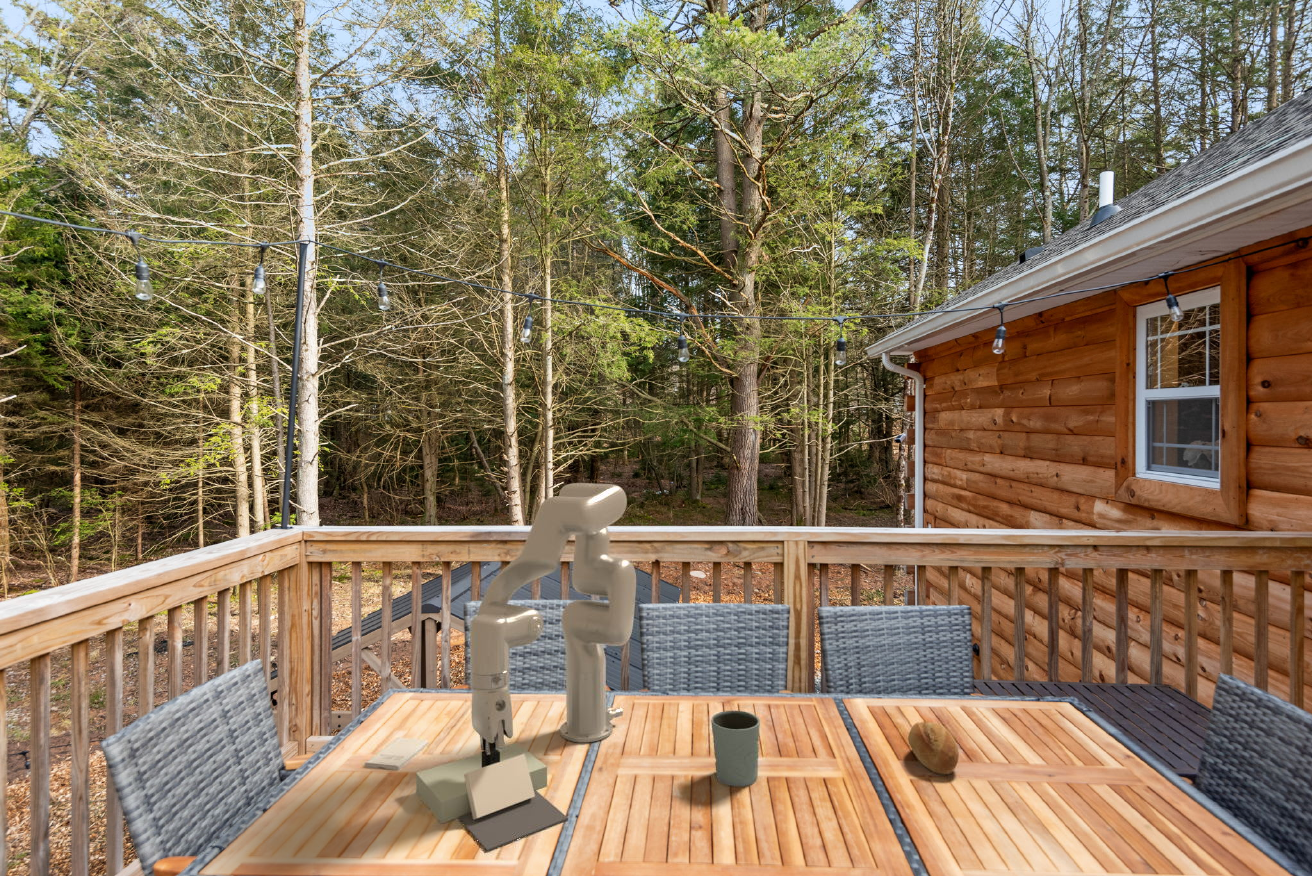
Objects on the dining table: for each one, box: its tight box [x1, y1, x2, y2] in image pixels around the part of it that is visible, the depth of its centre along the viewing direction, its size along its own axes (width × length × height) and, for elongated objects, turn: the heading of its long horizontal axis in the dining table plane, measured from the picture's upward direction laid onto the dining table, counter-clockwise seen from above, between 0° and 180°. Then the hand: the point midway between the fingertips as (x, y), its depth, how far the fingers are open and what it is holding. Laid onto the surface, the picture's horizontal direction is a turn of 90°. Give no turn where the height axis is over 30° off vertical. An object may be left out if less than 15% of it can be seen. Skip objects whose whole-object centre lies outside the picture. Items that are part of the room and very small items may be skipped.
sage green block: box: [415, 742, 548, 824], centre depth 140 cm, size 22×14×4 cm, turn 128°
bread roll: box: [907, 720, 960, 775], centre depth 151 cm, size 10×15×8 cm, turn 175°
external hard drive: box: [364, 737, 430, 771], centre depth 155 cm, size 2×8×12 cm
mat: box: [457, 790, 569, 853], centre depth 129 cm, size 16×13×1 cm
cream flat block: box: [464, 754, 535, 820], centre depth 133 cm, size 12×8×2 cm
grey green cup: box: [710, 710, 761, 788], centre depth 145 cm, size 10×10×12 cm
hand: (490, 770), depth 137 cm, fingers closed
